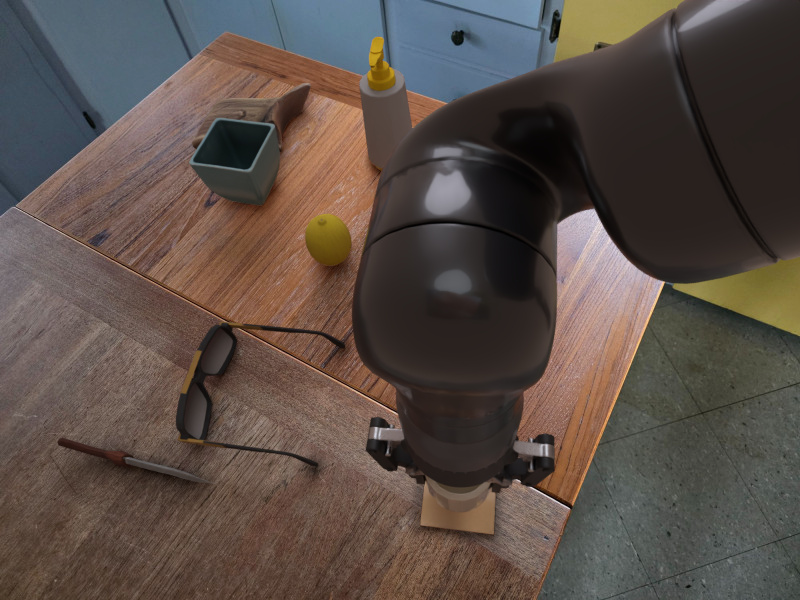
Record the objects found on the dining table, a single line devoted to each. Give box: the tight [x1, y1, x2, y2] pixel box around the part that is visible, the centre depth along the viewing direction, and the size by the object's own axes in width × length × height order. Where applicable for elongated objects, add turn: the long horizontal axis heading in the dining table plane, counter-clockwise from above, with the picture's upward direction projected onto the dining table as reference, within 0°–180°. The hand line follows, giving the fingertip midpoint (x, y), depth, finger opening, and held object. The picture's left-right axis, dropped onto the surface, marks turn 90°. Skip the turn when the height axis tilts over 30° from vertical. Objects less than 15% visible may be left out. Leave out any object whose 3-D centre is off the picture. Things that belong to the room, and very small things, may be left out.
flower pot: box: [188, 118, 281, 206], centre depth 75 cm, size 9×9×9 cm
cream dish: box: [425, 476, 492, 512], centre depth 47 cm, size 6×6×5 cm
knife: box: [56, 437, 215, 485], centre depth 58 cm, size 18×2×3 cm, turn 76°
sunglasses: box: [175, 321, 346, 468], centre depth 60 cm, size 14×15×5 cm
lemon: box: [304, 213, 353, 267], centre depth 67 cm, size 6×6×8 cm
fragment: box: [191, 82, 312, 154], centre depth 84 cm, size 13×16×5 cm
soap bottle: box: [358, 36, 414, 172], centre depth 71 cm, size 7×7×18 cm
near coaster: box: [419, 481, 497, 536], centre depth 54 cm, size 7×7×1 cm
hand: (459, 476), depth 49 cm, fingers closed on cream dish, 6 cm apart
